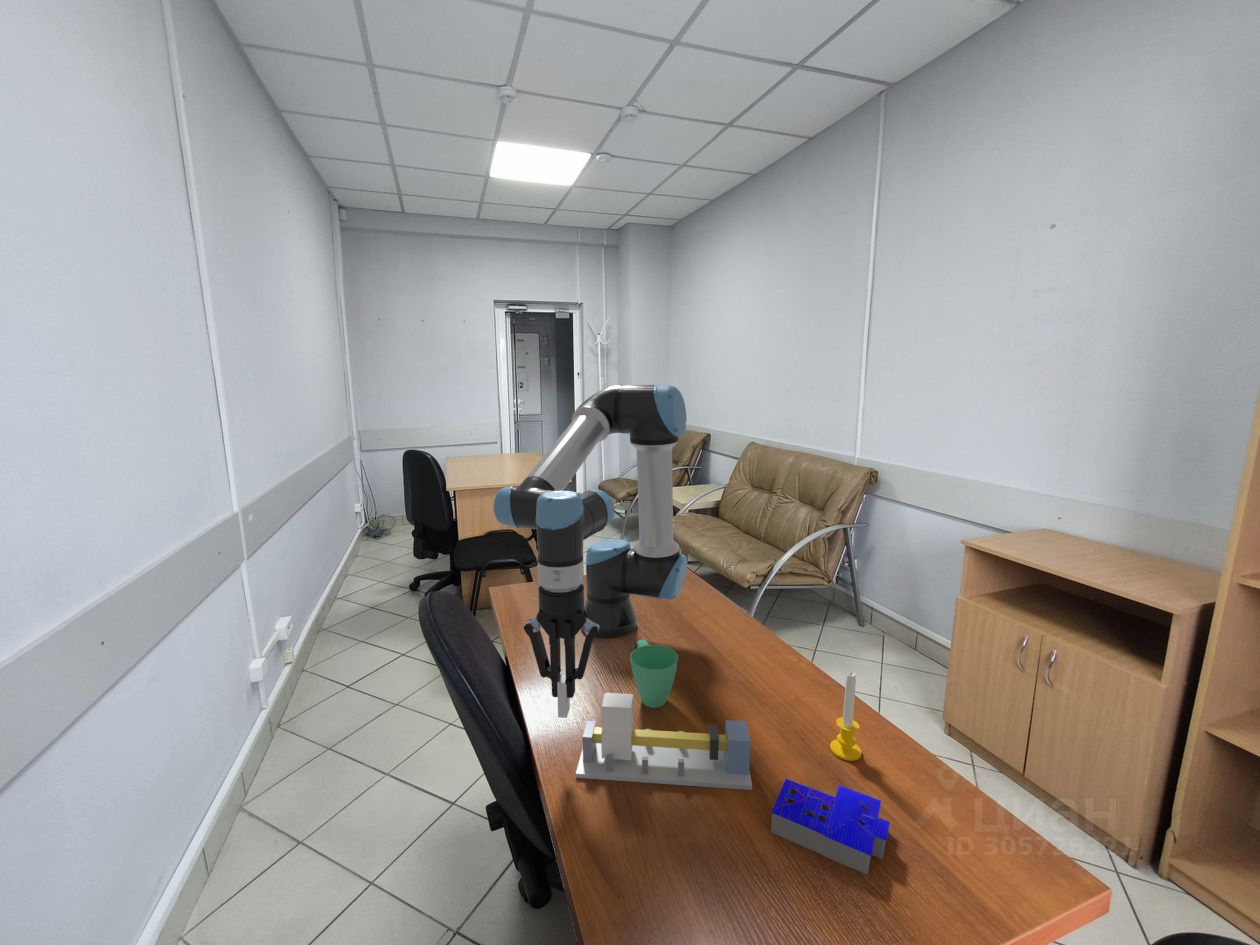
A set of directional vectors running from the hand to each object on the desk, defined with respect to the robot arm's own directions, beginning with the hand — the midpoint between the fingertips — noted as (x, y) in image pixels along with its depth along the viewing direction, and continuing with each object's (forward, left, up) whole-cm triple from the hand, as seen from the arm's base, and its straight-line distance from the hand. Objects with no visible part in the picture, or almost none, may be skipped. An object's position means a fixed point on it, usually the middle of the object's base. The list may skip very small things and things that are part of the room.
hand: (564, 712), depth 92 cm
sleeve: (0, +9, -6) cm, 11 cm away
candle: (-6, +50, -9) cm, 51 cm away
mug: (-20, +14, -9) cm, 26 cm away
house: (+11, +43, -9) cm, 45 cm away
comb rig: (0, +17, -8) cm, 19 cm away
